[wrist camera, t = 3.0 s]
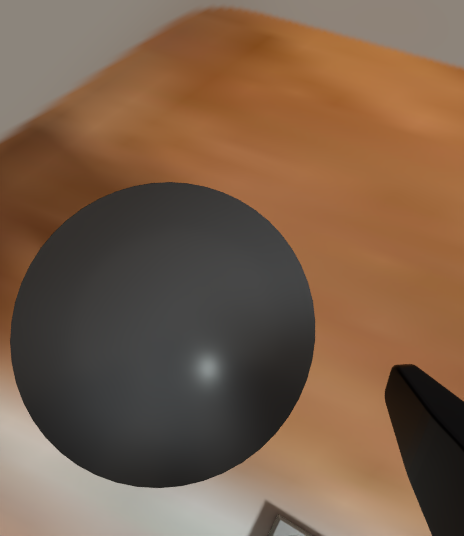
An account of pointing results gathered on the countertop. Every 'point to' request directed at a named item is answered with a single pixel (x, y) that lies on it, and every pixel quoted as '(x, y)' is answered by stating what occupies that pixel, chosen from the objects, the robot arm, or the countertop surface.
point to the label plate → (286, 528)
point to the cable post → (162, 335)
